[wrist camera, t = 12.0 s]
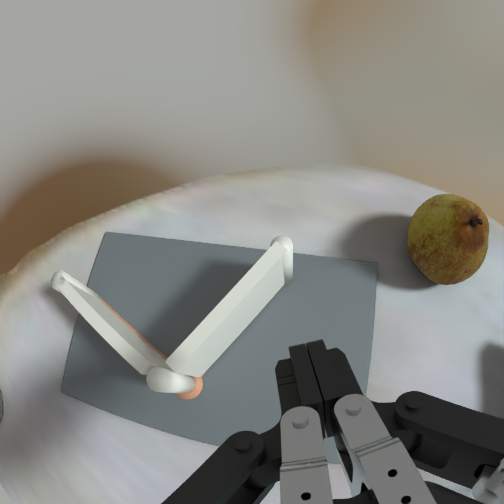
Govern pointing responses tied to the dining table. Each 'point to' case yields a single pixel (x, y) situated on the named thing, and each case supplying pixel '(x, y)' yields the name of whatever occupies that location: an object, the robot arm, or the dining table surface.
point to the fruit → (448, 238)
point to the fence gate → (235, 310)
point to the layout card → (194, 312)
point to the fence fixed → (122, 337)
